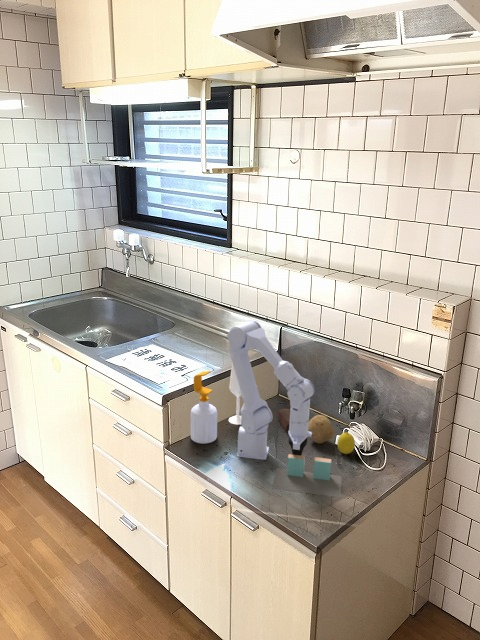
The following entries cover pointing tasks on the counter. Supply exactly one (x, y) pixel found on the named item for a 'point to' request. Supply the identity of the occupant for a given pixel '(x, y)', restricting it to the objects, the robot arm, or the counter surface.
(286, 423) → the brick
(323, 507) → the counter surface
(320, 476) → the tile right
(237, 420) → the champagne flute
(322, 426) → the brown round lump
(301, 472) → the tile left
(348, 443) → the lemon
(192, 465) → the counter surface
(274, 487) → the mat
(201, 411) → the soap bottle
